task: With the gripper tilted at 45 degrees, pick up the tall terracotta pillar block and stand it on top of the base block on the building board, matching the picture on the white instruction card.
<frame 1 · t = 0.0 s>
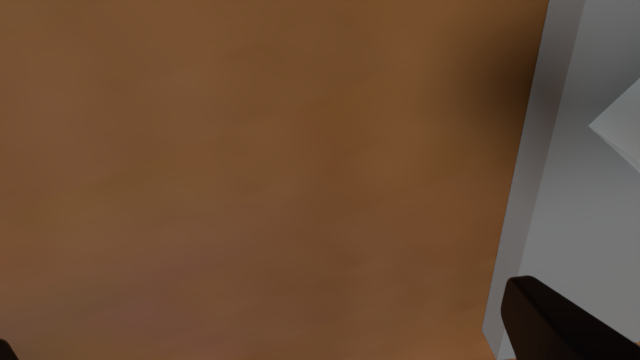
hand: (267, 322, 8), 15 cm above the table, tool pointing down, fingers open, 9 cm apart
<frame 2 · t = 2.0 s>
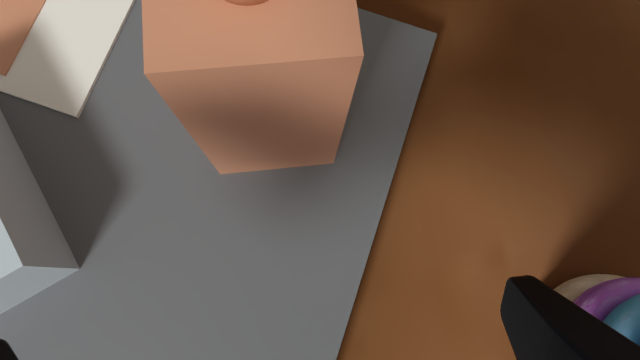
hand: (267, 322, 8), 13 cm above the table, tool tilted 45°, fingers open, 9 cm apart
pillar block: (272, 115, 21), point 2 cm above the table, touching building board
building board: (99, 189, 22), on the table
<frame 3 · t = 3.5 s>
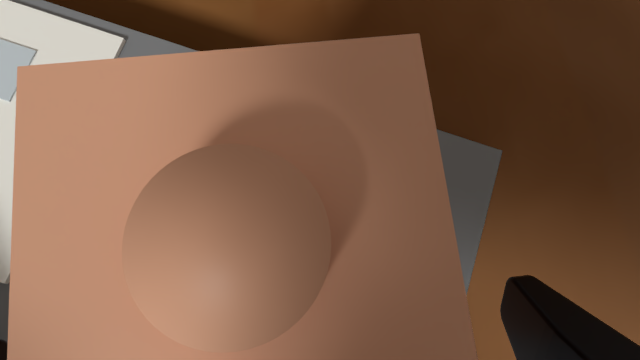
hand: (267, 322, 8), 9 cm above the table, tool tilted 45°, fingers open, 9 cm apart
pillar block: (279, 274, 15), point 2 cm above the table, touching building board
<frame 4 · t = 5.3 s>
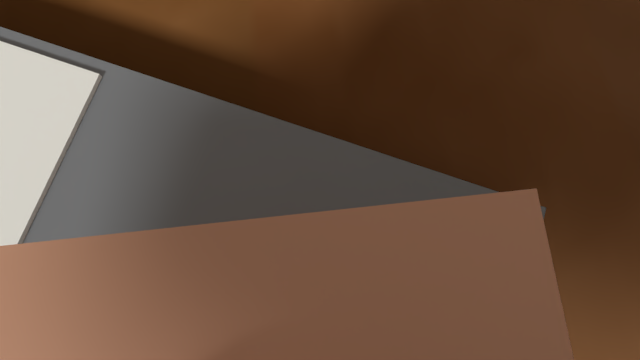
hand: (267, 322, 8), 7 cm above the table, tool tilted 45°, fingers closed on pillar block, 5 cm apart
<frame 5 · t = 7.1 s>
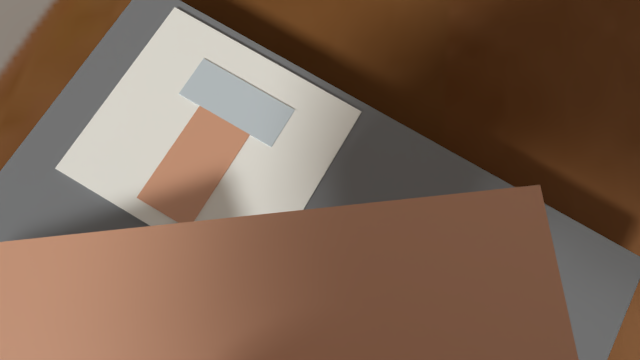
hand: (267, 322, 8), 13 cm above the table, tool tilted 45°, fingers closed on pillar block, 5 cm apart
pillar block: (285, 359, 13), point 9 cm above the table, touching gripper
building board: (250, 348, 21), on the table
when the fingers open (12 cm above the table, at t = 9.1 s): pillar block drops 1 cm, resting on base block.
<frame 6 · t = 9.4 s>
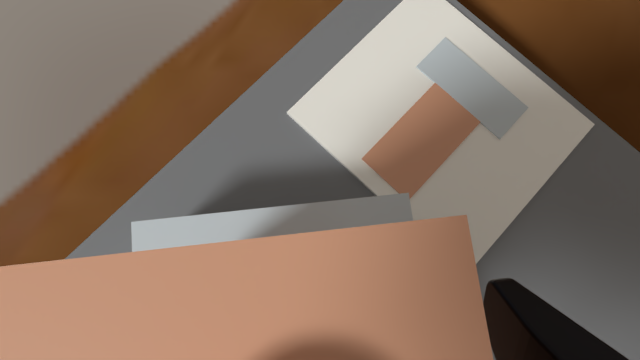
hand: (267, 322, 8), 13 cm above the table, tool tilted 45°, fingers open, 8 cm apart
pillar block: (285, 352, 14), point 6 cm above the table, touching base block
building board: (425, 334, 21), on the table
base block: (289, 337, 18), point 2 cm above the table, touching building board, pillar block
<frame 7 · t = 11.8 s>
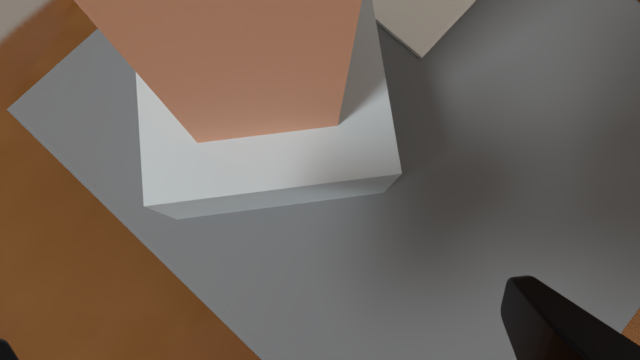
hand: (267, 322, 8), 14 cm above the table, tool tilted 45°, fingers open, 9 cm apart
pillar block: (260, 69, 17), point 6 cm above the table, touching base block
building board: (392, 127, 23), on the table
base block: (269, 107, 21), point 2 cm above the table, touching building board, pillar block
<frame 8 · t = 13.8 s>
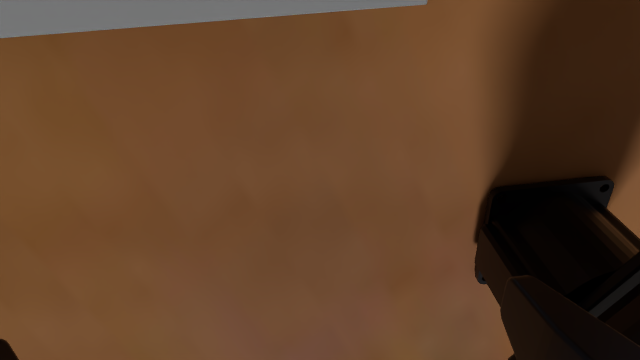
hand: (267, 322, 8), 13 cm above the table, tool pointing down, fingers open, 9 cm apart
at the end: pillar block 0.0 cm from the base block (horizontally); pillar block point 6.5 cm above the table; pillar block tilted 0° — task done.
